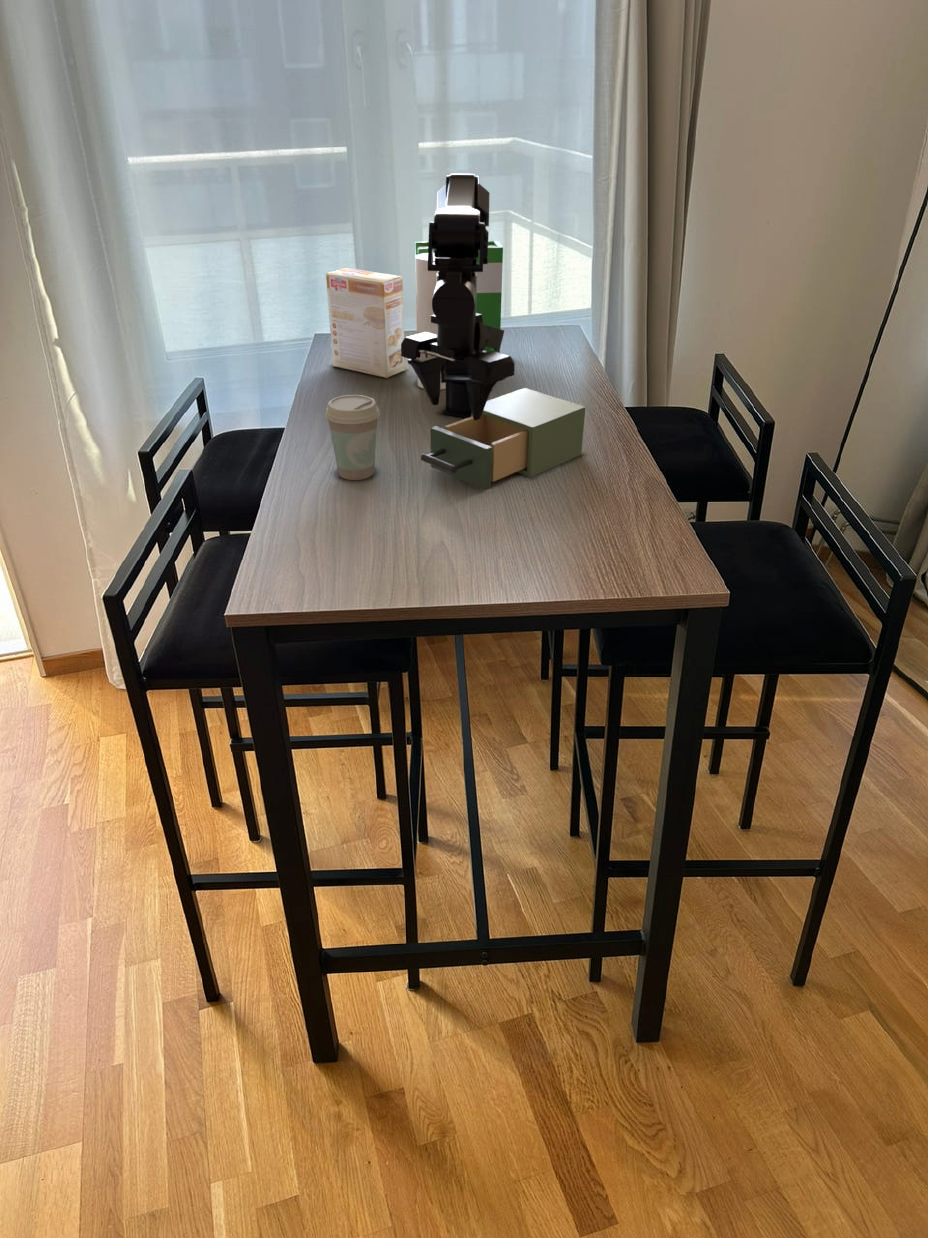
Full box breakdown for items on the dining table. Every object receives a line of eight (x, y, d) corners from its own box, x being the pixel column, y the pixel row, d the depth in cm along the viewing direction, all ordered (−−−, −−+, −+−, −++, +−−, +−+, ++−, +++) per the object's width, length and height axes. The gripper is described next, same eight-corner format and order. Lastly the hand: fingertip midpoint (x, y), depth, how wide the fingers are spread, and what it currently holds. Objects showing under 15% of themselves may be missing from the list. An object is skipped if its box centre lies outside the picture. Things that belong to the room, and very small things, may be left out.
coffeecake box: (406, 370, 192) (403, 275, 181) (386, 378, 187) (382, 282, 176) (351, 358, 199) (346, 266, 188) (331, 366, 194) (324, 272, 183)
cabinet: (530, 477, 146) (533, 427, 141) (470, 454, 154) (471, 406, 149) (581, 454, 154) (585, 406, 149) (522, 433, 162) (524, 387, 157)
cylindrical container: (456, 380, 186) (457, 254, 173) (445, 391, 181) (444, 261, 167) (425, 376, 188) (423, 251, 174) (412, 387, 182) (409, 258, 169)
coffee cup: (341, 487, 142) (336, 415, 135) (322, 468, 148) (317, 398, 141) (390, 477, 145) (387, 406, 138) (370, 459, 151) (366, 390, 145)
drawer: (464, 499, 137) (464, 457, 133) (409, 475, 144) (408, 435, 140) (537, 467, 147) (539, 428, 143) (482, 446, 154) (483, 408, 150)
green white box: (420, 364, 195) (418, 248, 182) (417, 354, 201) (415, 241, 188) (499, 362, 197) (503, 247, 184) (494, 352, 203) (497, 240, 190)
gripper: (542, 309, 128) (536, 414, 136) (450, 287, 138) (450, 386, 147) (489, 324, 121) (486, 433, 129) (397, 299, 132) (400, 402, 140)
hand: (455, 412), depth 137 cm, fingers open, 8 cm apart
